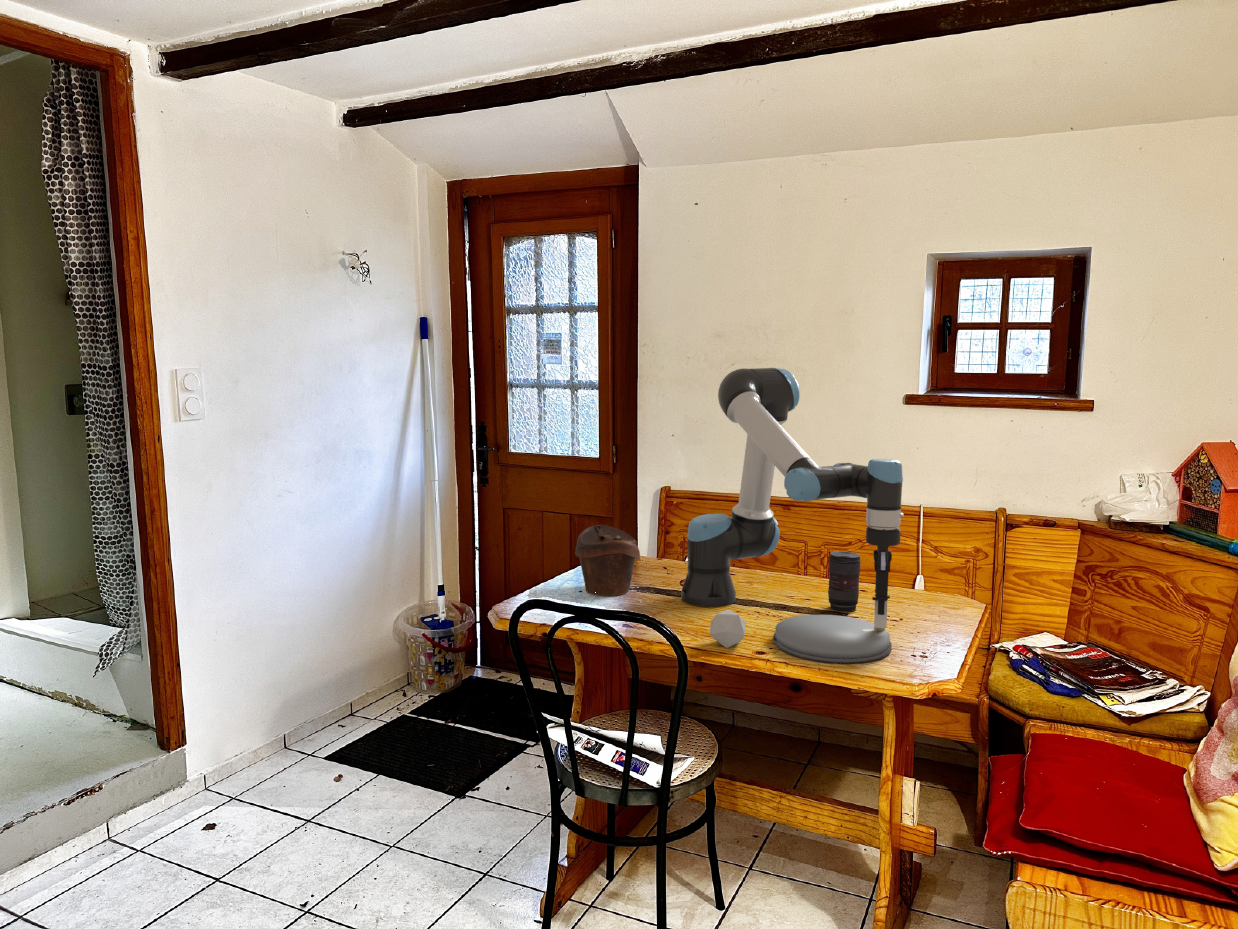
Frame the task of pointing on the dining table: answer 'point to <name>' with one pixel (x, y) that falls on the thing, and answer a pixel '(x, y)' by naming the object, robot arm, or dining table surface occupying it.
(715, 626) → the die
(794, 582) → the dining table surface
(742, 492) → the robot arm
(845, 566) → the camera lens
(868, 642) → the turntable
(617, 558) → the brown tapered cup shape
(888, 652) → the turntable base
